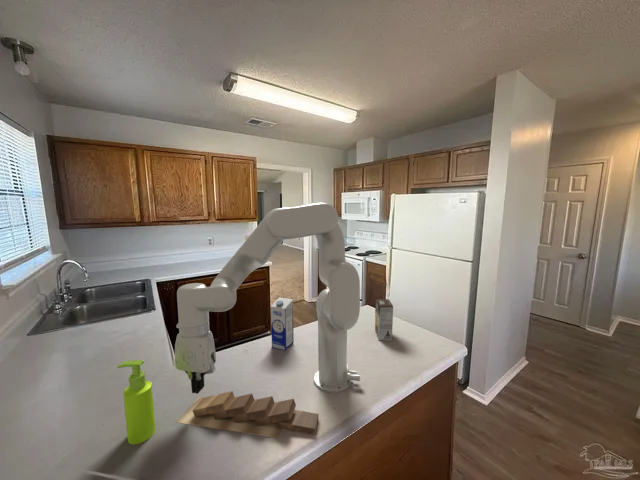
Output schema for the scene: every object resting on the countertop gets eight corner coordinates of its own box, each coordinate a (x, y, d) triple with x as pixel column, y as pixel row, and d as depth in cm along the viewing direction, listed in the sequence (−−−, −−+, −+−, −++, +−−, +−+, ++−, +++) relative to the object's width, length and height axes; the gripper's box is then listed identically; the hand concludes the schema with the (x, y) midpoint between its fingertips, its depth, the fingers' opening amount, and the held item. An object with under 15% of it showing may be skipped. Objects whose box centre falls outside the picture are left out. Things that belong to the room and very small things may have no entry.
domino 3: (243, 409, 75) (274, 402, 73) (235, 422, 71) (268, 416, 69) (241, 402, 75) (272, 396, 73) (232, 416, 70) (265, 409, 68)
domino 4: (264, 411, 74) (296, 405, 72) (256, 426, 69) (290, 419, 67) (261, 405, 74) (293, 398, 72) (254, 419, 69) (288, 412, 67)
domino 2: (224, 406, 76) (254, 399, 74) (214, 419, 72) (246, 413, 70) (222, 400, 76) (252, 393, 74) (212, 413, 71) (243, 406, 70)
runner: (289, 409, 76) (289, 408, 76) (278, 439, 66) (278, 437, 66) (199, 397, 81) (199, 396, 81) (176, 423, 71) (176, 422, 71)
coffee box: (374, 331, 125) (375, 298, 123) (387, 331, 125) (388, 298, 123) (378, 340, 116) (379, 305, 114) (392, 340, 116) (393, 305, 114)
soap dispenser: (132, 427, 70) (126, 356, 68) (159, 425, 70) (154, 355, 68) (117, 446, 64) (110, 369, 62) (147, 444, 64) (141, 368, 62)
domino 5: (283, 414, 73) (318, 420, 72) (277, 428, 68) (314, 435, 67) (283, 407, 73) (318, 413, 71) (277, 421, 68) (315, 428, 67)
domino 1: (205, 404, 78) (234, 397, 76) (194, 417, 73) (225, 410, 71) (203, 397, 77) (232, 391, 75) (192, 410, 73) (223, 403, 71)
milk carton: (294, 343, 114) (293, 298, 112) (285, 350, 108) (284, 304, 106) (280, 340, 117) (279, 296, 115) (271, 347, 111) (270, 301, 109)
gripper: (160, 332, 70) (165, 396, 72) (211, 336, 68) (214, 402, 70) (180, 321, 77) (183, 379, 79) (226, 324, 75) (229, 384, 77)
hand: (198, 390), depth 74 cm, fingers closed
